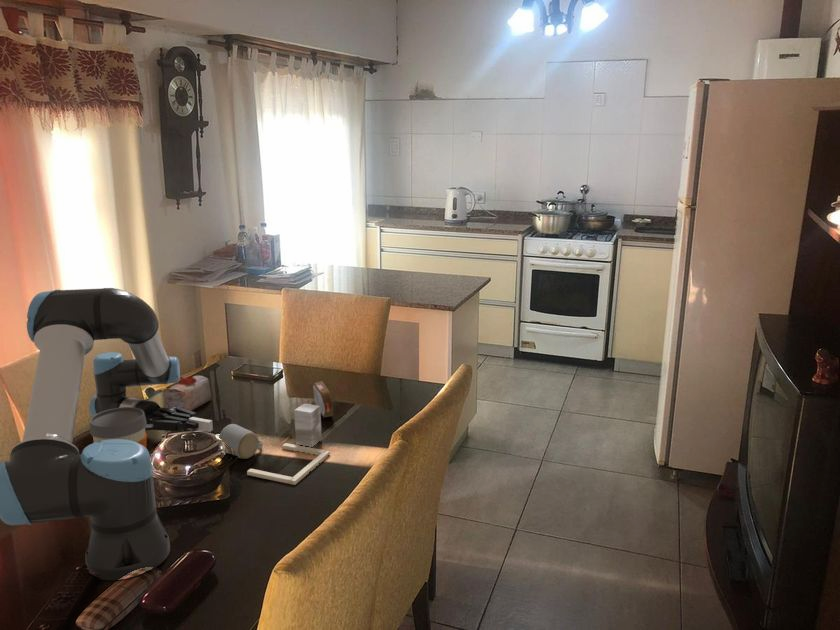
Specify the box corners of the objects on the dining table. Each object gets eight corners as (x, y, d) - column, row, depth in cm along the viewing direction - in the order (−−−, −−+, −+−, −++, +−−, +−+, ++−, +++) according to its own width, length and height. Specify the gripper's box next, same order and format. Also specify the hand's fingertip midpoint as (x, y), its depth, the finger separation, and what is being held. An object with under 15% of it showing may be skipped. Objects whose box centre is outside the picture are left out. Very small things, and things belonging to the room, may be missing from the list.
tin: (334, 420, 196) (333, 393, 194) (323, 422, 195) (322, 395, 193) (322, 402, 209) (321, 377, 207) (312, 404, 208) (311, 378, 206)
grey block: (312, 447, 178) (310, 412, 176) (295, 444, 180) (294, 410, 178) (321, 440, 183) (320, 406, 180) (305, 437, 185) (304, 403, 182)
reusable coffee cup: (91, 489, 157) (83, 430, 153) (101, 465, 169) (93, 409, 165) (148, 482, 160) (142, 424, 156) (154, 459, 172) (148, 404, 168)
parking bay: (295, 485, 159) (294, 481, 159) (247, 474, 164) (247, 471, 163) (330, 454, 174) (329, 451, 174) (285, 446, 179) (285, 442, 179)
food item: (185, 417, 198) (182, 386, 196) (163, 414, 201) (160, 382, 198) (214, 401, 210) (211, 371, 208) (193, 398, 213) (190, 368, 211)
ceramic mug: (240, 464, 169) (239, 436, 167) (218, 456, 173) (216, 429, 171) (270, 449, 178) (269, 422, 176) (248, 442, 182) (247, 415, 180)
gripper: (158, 417, 191) (227, 429, 183) (123, 435, 179) (195, 449, 171) (156, 392, 189) (225, 404, 181) (120, 409, 178) (192, 422, 169)
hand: (210, 426), depth 176 cm, fingers closed
